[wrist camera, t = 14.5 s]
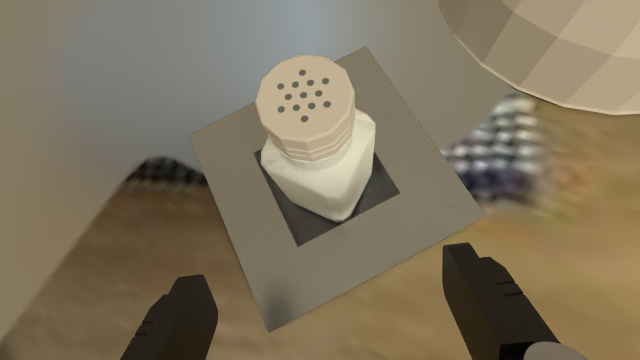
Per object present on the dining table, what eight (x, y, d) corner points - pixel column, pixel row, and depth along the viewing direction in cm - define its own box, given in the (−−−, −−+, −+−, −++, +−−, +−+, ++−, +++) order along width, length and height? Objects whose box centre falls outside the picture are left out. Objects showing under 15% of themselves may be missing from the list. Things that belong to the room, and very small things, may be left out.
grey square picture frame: (365, 66, 22) (365, 45, 20) (472, 223, 18) (485, 216, 16) (203, 148, 22) (188, 135, 20) (278, 328, 18) (268, 332, 16)
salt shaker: (284, 199, 19) (219, 125, 10) (315, 142, 20) (279, 28, 11) (346, 229, 18) (332, 174, 10) (375, 168, 19) (388, 65, 10)
